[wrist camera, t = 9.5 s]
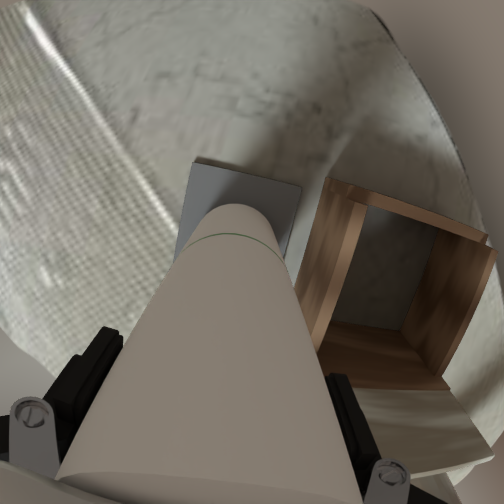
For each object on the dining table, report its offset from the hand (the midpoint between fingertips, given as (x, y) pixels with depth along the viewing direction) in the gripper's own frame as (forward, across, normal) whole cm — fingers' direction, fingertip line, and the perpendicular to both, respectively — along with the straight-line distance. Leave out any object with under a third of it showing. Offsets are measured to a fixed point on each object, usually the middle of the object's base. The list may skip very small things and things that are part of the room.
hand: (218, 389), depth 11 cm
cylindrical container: (+19, 0, 0) cm, 19 cm away
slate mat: (+21, 0, 0) cm, 21 cm away
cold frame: (+21, -14, 0) cm, 25 cm away
